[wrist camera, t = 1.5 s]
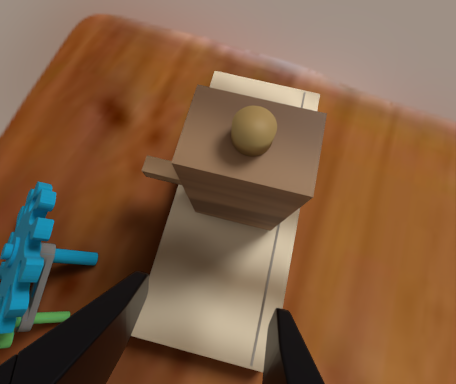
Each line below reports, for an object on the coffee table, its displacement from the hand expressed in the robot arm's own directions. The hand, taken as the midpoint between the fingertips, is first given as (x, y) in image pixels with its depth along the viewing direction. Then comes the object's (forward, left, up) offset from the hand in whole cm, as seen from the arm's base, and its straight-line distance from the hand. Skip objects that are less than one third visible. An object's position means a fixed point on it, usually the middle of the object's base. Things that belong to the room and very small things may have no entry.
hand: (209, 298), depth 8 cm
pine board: (+6, -3, -14) cm, 15 cm away
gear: (+5, +13, -14) cm, 19 cm away
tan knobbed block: (+6, -2, -11) cm, 13 cm away
